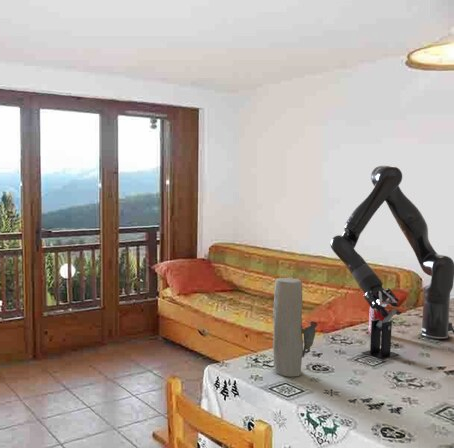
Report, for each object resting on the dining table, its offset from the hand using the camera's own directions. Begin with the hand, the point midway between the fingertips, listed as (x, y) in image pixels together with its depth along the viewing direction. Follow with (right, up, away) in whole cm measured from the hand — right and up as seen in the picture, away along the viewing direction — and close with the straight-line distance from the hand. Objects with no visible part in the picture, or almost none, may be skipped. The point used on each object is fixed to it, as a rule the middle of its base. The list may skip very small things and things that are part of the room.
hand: (393, 315), depth 181 cm
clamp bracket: (-7, -14, -5) cm, 16 cm away
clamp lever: (-3, -1, -3) cm, 5 cm away
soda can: (+3, -12, +20) cm, 23 cm away
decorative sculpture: (-43, -15, -22) cm, 50 cm away
